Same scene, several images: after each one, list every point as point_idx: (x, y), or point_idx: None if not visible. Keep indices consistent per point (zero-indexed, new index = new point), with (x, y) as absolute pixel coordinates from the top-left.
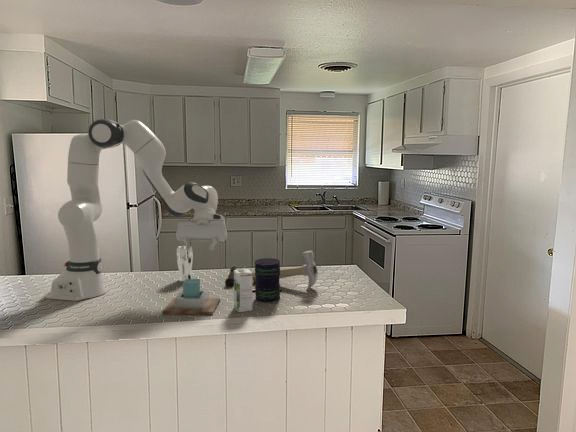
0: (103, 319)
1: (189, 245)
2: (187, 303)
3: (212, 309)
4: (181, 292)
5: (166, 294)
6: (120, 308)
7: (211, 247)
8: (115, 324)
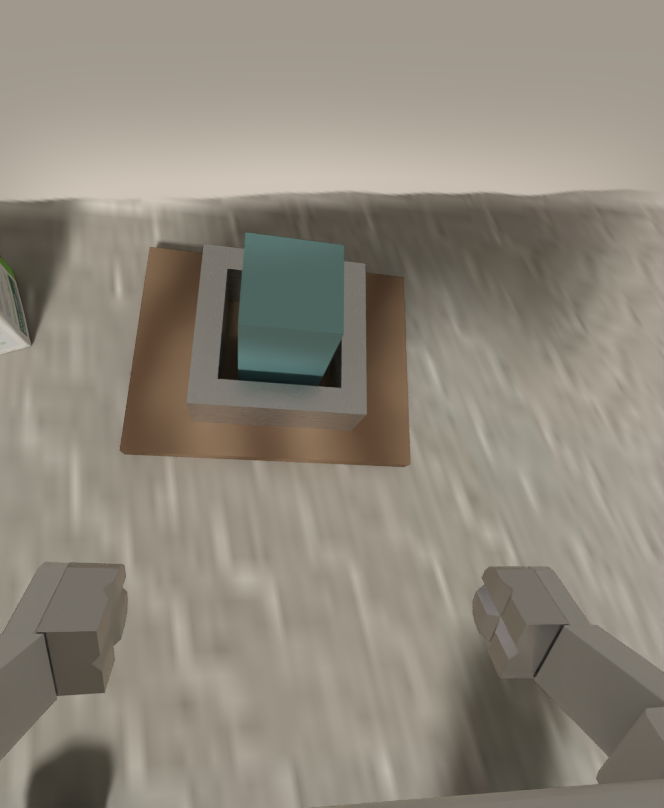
0: (604, 257)
1: (510, 623)
2: None
3: (154, 275)
4: (356, 361)
5: None
6: (609, 371)
7: (68, 566)
8: (535, 207)
